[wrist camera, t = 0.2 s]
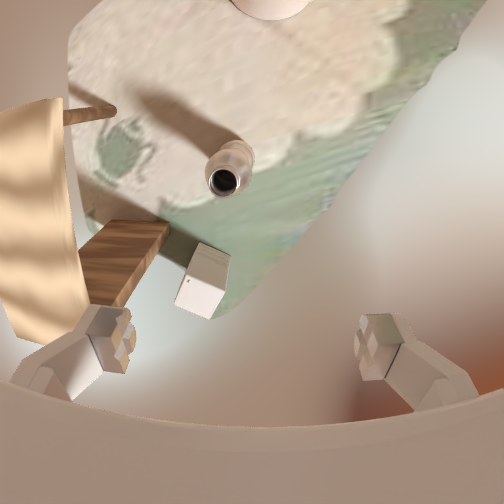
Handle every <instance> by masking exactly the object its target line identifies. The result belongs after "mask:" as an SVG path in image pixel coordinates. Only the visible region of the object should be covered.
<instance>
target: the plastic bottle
mask: <svg viewBox="0 0 504 504" xmlns="http://www.w3.org/2000/svg"><path fill="white" fill-rule="evenodd" d="M254 162H255V156H254V152H253V150H252V148H251V147H250V146H249V145H248V144H247V143H246V142H244V141H241V140H231V141H228V142H226V143H225V144H224V145H223V146H222V147H221V148H220V150H219V151H218V152H216V153H215V154H213V155H212V156H211V157H210V159H209V160H208V162H207V164H206V167H205V178H206V181H207V184H208V185H209V188H210V191H211V192H212V193H213V194H214V195H215V196H217V197H220V198H227V197H230V196H235V195H238V194H240V193H241V192H243V191H244V190H245V189H246V188H247V187H248V185H249V183H250V181H251V177H252V168H253V166H254Z"/></svg>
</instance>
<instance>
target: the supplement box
mask: <svg viewBox="0 0 504 504" xmlns="http://www.w3.org/2000/svg"><path fill="white" fill-rule="evenodd" d="M230 260H231V256H229V255H227V254H225V253H223V252H221V251H218V250H216V249H214V248H212V247H209V246H207V245H205V244H203V243H201V242H199V244H198V246H197V248H196V250H195V252H194V254H193V256H192V258H191V261H190V263H189V265H188V268H187V270H186V273H185V275H184V278H183V280H182V282H181V285H180V288H179V290H178V293H177V296H176V298H175V301H174V305H176V306H178V307H180V308H183V309H185V310H188V311H190V312H192V313H195V314H197V315H199V316H202V317H204V318H206V319H210V317H211V316H212V314H213V312H214V310H215V309H216V307H217V305H218V304H219V302H220V300H221V299H222V297H223V295H224V294H225V291H226V283H227V278H228V272H229V267H230Z"/></svg>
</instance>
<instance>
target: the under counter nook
mask: <svg viewBox="0 0 504 504" xmlns="http://www.w3.org/2000/svg"><path fill="white" fill-rule="evenodd" d="M116 113H117V109H116V107H115V106H113V105H110V106H99V107H88V108H79V109H71V110H64V111H63V98H52V99H44V100H40V101H36V102H32V103H28V104H25V105H21V106H17V107H14V108H11V109H7V110H4V111H1V112H0V299H1V301H2V304H3V306H4V309H5V311H6V314H7V316H8V318H9V321H10V323H11V325H12V328H13V329H14V332H15V334H16V336H17V337H18V338H21V339H25V340H28V341H31V342H35V343H38V344H42V345H45V346H46V345H47V344H49V343H51V342H53V341H54V340H56V339H58V338H59V337H61V336H63V335H64V334H66V333H68V332H73V330H74V328H75V327H76V325H77V323H78V322H79V320H80V319H81V317H82V315H83V314H84V312H85V311H86V309H87V308H88V306H89V305H91V304H96V305H106V306H114V307H124V306H125V304H126V302H127V301H128V299H129V297H130V296H131V294H132V292H133V291H134V289H135V287H136V286H137V284H138V282H139V281H140V279H141V278H142V276H143V274H144V273H145V271H146V270H147V268H148V267H149V265H150V264H151V262H152V260H153V259H154V257H155V256H156V254H157V253H158V251H159V250H160V248H161V247H162V245H163V244H164V242H165V241H166V239H167V238H168V236H169V235H170V228H169V222H148V221H124V220H111V221H110V222H109V223H108V224H107V225H105V226H104V227H103V228H102V229H101V230H100V231H99V232H98V233H97V234H95V235H94V237H92V238H91V239H90V240H89V241H88V242H87V243H86V244H85V245H84V246H83V247H81V248H80V249H79V250H78V249H77V244H76V238H75V233H74V228H73V221H72V215H71V208H70V201H69V193H68V185H67V176H66V166H65V153H64V136H63V126H67V125H72V124H77V123H82V122H87V121H93V120H99V119H105V118H111V117H114V116H115V115H116Z"/></svg>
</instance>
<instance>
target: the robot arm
mask: <svg viewBox="0 0 504 504" xmlns="http://www.w3.org/2000/svg"><path fill="white" fill-rule="evenodd" d="M311 1H314V0H232V2H233V3H234V4H235V6H236V7H237V8H238V9H240V10H241V11H242V12H244V13H245V14H247V15H249V16H252V17H254V18H258V19H263V20H280V19H285V18H288V17H291V16H293V15H295V14H297V13H298V12H300V11H301V10H302V9H303V8H304V7H305V6H306V5H307V4H308V3H309V2H311ZM131 317H132V316H131V313H130V310H129V309H128V308H123V307H114V306H106V305H96V304H91V305H89V306H88V308H87V309H86V311H85V312H84V314H83V315H82V317H81V319H80V320H79V322H78V323H77V325H76V327H75V328H74V330H73V332H68V333H66V334H64V335H63V336H61V337H59V338H58V339H56V340H54V341H53V342H51V343H49V344H47V345H46V346H44V347H42V348H41V349H39V350H38V351H36V352H34V353H33V354H31V355H29V356H28V357H26V358H24V359H23V360H22V362H21V363H20V365H19V366H18V368H17V369H16V371H15V373H14V374H13V376H12V378H11V380H10V381H9V382H7V381H5V380H2V379H0V504H504V388H502V389H499V390H496V391H493V392H490V393H487V394H484V395H481V396H479V394H478V392H477V390H476V389H475V387H474V385H473V383H472V381H471V379H470V377H469V375H468V373H467V372H466V371H464V370H463V369H461V368H460V367H458V366H457V365H455V364H454V363H452V362H451V361H449V360H448V359H447V358H445V357H444V356H442V355H441V354H439V353H438V352H436V351H435V350H433V349H432V348H430V347H428V346H427V345H426V344H424V343H423V342H418V341H417V339H416V337H415V335H414V333H413V332H412V330H411V328H410V326H409V324H408V322H407V321H406V319H405V317H404V315H403V314H402V313H400V312H396V313H388V314H387V313H385V314H366V315H365V314H363V315H362V317H361V318H360V322H359V325H360V327H361V329H359V330H358V331H357V332H356V335H355V338H354V352H355V356H356V358H357V359H359V360H360V361H361V362H360V365H359V369H360V372H361V375H362V378H363V381H366V380H379V379H385V381H386V382H387V383H388V384H389V385H390V386H391V387H392V388H393V389H394V390H395V391H396V392H397V393H398V394H399V395H400V396H401V397H402V398H403V399H404V400H405V401H406V402H407V403H408V404H409V405H410V406H411V407H412V408H413V409H414V410H415V411H414V412H413V413H410V414H404V415H399V416H394V417H387V418H380V419H374V420H366V421H359V422H350V423H340V424H331V425H318V426H298V427H232V426H231V427H230V426H213V425H201V424H190V423H180V422H172V421H164V420H156V419H150V418H143V417H137V416H131V415H125V414H120V413H115V412H111V411H106V410H101V409H96V408H92V407H88V406H84V405H80V404H76V403H73V401H72V400H73V399H74V398H75V397H76V396H78V395H79V394H80V393H81V392H82V391H83V390H84V389H85V388H87V387H88V386H89V385H90V384H91V383H92V382H93V381H94V380H95V379H97V378H98V377H99V376H100V375H101V374H102V373H103V372H104V371H108V372H114V373H122V374H125V371H126V369H127V366H128V363H129V361H130V360H129V357H128V355H129V354H130V353H131V352H133V350H134V347H135V343H136V331H135V327H134V326H133V325H132V324H131V323H130V320H131Z"/></svg>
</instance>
